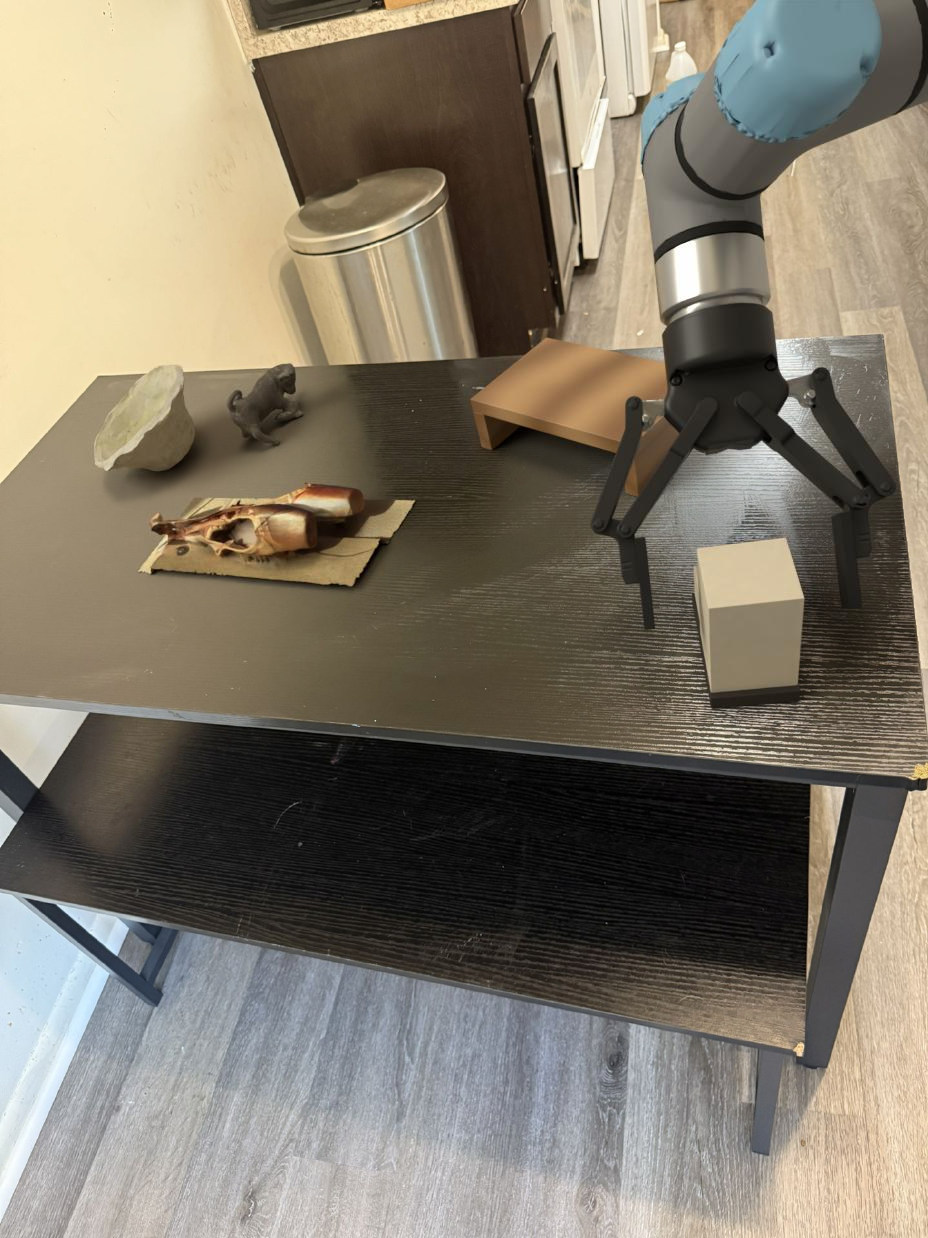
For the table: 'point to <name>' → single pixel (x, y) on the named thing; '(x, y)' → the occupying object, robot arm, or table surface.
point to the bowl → (147, 424)
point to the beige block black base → (749, 622)
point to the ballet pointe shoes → (279, 535)
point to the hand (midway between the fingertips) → (748, 619)
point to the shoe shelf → (577, 401)
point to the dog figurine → (265, 402)
